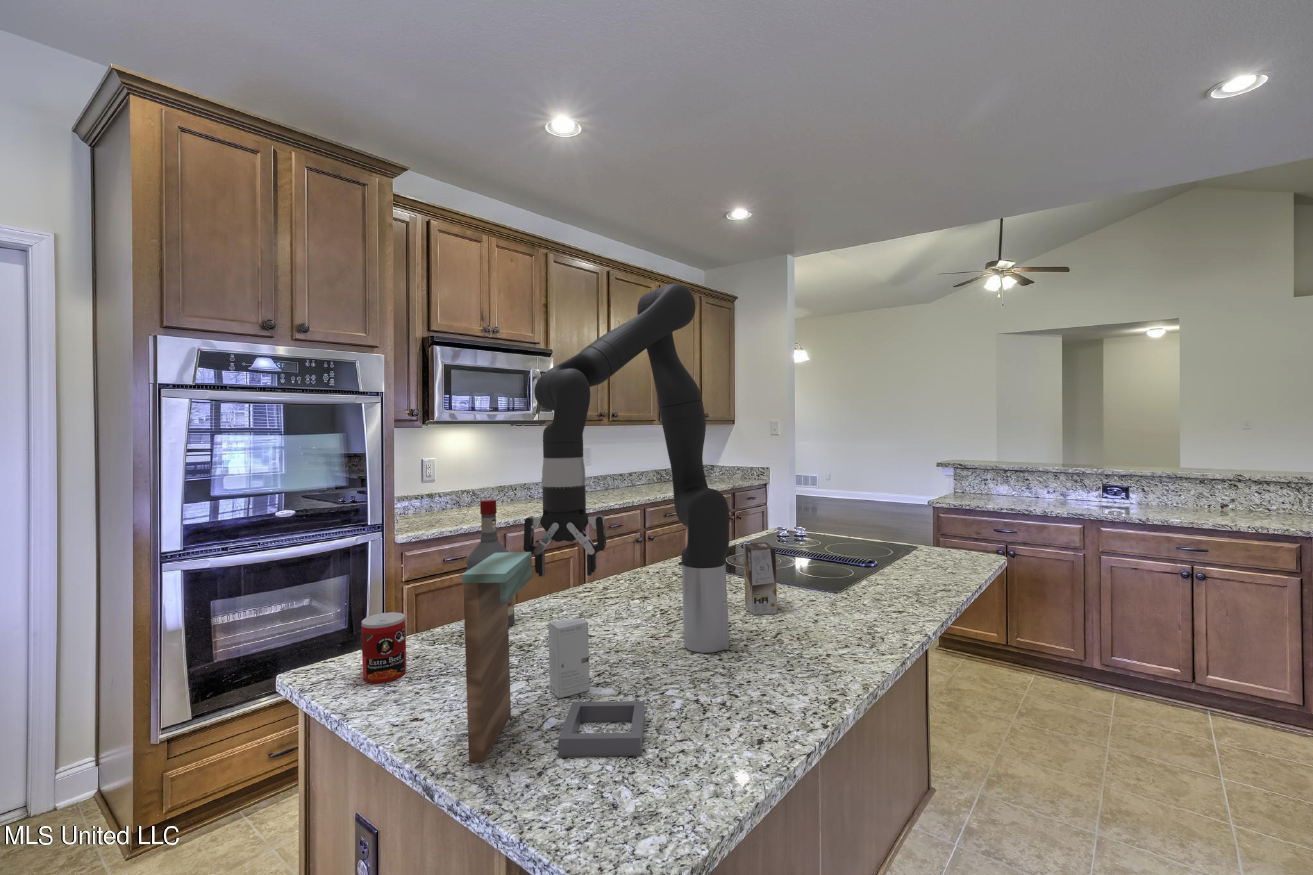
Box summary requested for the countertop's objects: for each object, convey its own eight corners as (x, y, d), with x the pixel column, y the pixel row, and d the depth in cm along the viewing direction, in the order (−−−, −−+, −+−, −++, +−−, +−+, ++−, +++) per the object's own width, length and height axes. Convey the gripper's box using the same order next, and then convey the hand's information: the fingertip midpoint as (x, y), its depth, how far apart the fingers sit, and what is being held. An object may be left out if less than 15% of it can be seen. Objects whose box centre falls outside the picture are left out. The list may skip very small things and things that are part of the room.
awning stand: (536, 713, 97) (531, 551, 97) (510, 764, 82) (505, 573, 82) (499, 713, 97) (494, 552, 97) (467, 764, 82) (461, 574, 82)
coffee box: (778, 614, 146) (776, 548, 146) (752, 615, 145) (750, 549, 145) (768, 603, 155) (766, 541, 155) (744, 604, 155) (742, 542, 154)
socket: (645, 716, 95) (644, 700, 95) (640, 755, 83) (640, 737, 83) (572, 717, 95) (572, 701, 95) (558, 756, 84) (558, 738, 84)
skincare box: (559, 699, 102) (557, 628, 102) (548, 690, 106) (546, 622, 106) (591, 690, 105) (589, 621, 105) (580, 681, 109) (578, 615, 109)
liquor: (463, 631, 140) (459, 502, 139) (487, 619, 148) (484, 498, 148) (496, 634, 136) (492, 503, 136) (519, 622, 145) (515, 498, 145)
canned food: (363, 687, 109) (361, 627, 109) (362, 672, 116) (360, 616, 116) (408, 678, 113) (406, 620, 113) (404, 664, 120) (403, 609, 120)
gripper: (606, 481, 109) (608, 570, 109) (529, 482, 109) (531, 571, 109) (601, 484, 101) (603, 580, 101) (518, 485, 102) (520, 581, 102)
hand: (565, 575), depth 105 cm, fingers open, 8 cm apart
